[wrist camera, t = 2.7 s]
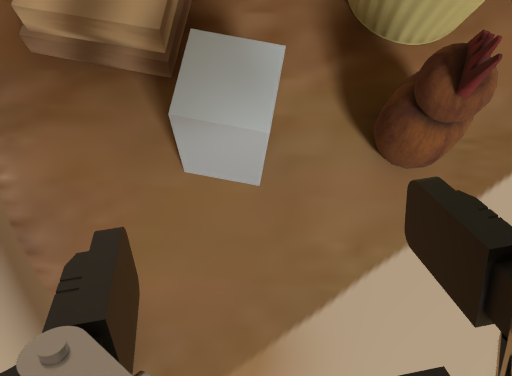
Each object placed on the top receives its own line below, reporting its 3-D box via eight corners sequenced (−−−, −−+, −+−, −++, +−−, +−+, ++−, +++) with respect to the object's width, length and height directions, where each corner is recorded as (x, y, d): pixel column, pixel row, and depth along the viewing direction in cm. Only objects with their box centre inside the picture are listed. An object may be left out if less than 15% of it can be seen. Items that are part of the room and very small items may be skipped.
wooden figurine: (408, 193, 37) (522, 104, 22) (350, 149, 38) (424, 36, 23) (453, 134, 39) (584, 17, 24) (397, 93, 39) (492, -43, 25)
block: (271, 118, 38) (285, 45, 29) (259, 185, 36) (269, 132, 27) (200, 104, 38) (190, 28, 29) (184, 171, 36) (168, 114, 27)
